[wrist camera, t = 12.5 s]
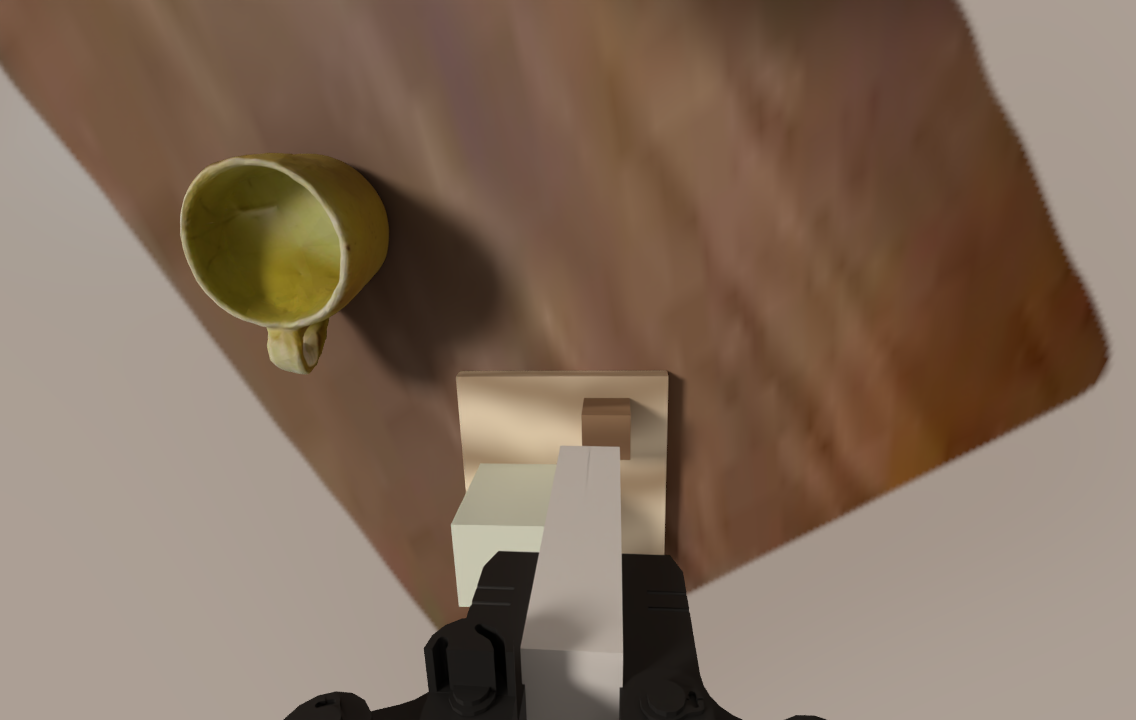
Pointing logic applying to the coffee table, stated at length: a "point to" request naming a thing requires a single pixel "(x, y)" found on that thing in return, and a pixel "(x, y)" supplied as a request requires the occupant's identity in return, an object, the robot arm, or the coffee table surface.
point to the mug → (284, 244)
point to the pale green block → (499, 518)
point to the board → (575, 432)
